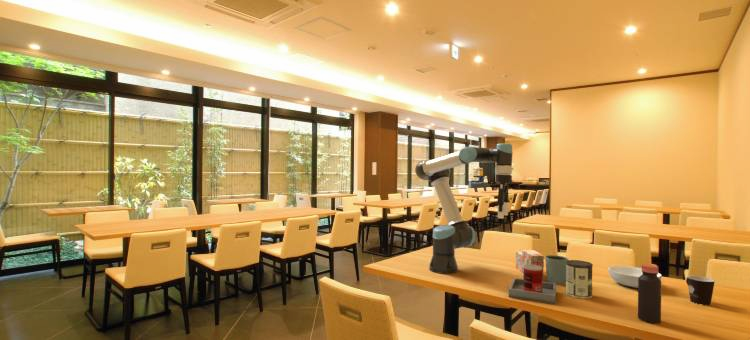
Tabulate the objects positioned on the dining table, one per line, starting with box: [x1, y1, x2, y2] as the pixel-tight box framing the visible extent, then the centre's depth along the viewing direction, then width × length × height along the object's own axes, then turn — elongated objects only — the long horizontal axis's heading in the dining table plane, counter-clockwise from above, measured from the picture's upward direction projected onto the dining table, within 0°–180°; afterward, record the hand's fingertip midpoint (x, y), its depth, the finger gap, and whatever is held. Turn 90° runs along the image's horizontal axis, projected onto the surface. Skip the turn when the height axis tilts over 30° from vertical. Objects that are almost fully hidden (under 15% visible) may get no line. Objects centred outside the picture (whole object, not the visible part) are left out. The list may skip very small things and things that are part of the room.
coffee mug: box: [685, 275, 715, 306], centre depth 155 cm, size 12×9×10 cm
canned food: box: [522, 265, 544, 293], centre depth 162 cm, size 8×8×11 cm
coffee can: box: [565, 259, 594, 300], centre depth 162 cm, size 10×10×14 cm
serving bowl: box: [607, 265, 662, 289], centre depth 176 cm, size 21×21×7 cm
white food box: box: [515, 249, 545, 281], centre depth 195 cm, size 21×6×12 cm, turn 179°
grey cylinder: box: [544, 254, 569, 286], centre depth 181 cm, size 10×10×12 cm
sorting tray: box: [508, 277, 557, 305], centre depth 162 cm, size 18×18×4 cm
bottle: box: [637, 263, 662, 324], centre depth 135 cm, size 7×7×20 cm
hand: (502, 216), depth 185 cm, fingers open, 13 cm apart
